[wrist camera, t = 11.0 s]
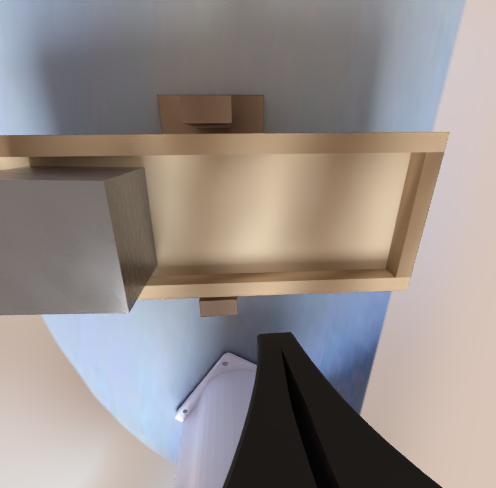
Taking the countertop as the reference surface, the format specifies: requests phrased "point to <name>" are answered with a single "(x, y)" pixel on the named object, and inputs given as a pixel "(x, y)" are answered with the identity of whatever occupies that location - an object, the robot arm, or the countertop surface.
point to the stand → (212, 122)
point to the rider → (74, 239)
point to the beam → (267, 205)
